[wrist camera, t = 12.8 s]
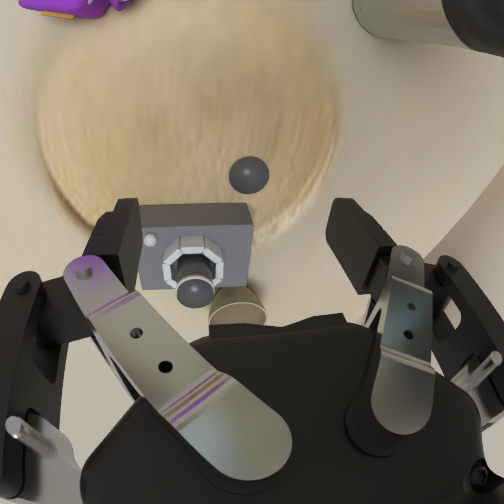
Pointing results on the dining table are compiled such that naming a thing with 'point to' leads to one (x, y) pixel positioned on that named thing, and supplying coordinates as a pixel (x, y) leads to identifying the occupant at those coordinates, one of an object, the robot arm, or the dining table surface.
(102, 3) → the toy camera
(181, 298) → the lens
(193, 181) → the dining table surface
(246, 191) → the grey dome
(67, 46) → the dining table surface
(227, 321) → the flower pot
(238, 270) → the camera body
